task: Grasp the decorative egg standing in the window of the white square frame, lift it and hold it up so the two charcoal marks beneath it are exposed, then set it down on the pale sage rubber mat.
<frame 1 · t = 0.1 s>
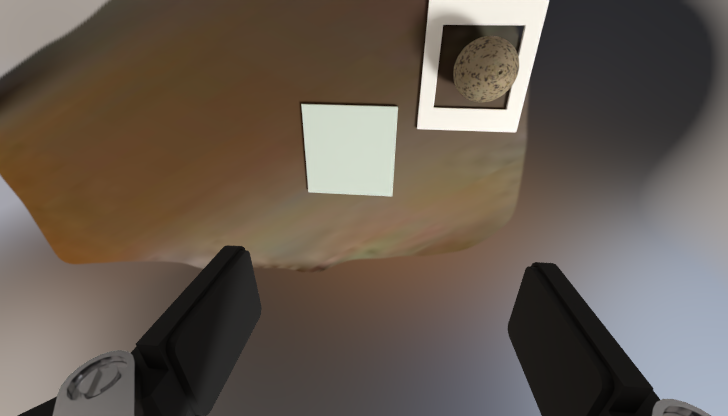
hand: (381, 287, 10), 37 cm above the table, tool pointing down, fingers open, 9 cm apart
white square frame: (475, 69, 39), on the table
sage mat: (350, 151, 46), on the table
decorative egg: (475, 69, 39), resting in white square frame
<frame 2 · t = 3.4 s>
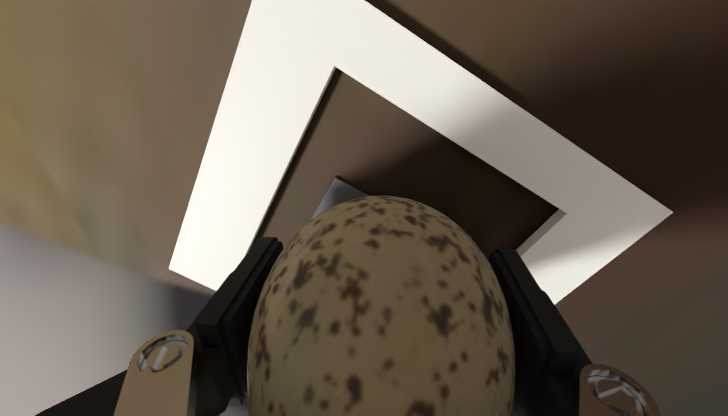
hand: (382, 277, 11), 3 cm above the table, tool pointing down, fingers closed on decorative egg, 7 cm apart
white square frame: (384, 238, 13), on the table
decorative egg: (384, 236, 13), resting in white square frame, touching gripper
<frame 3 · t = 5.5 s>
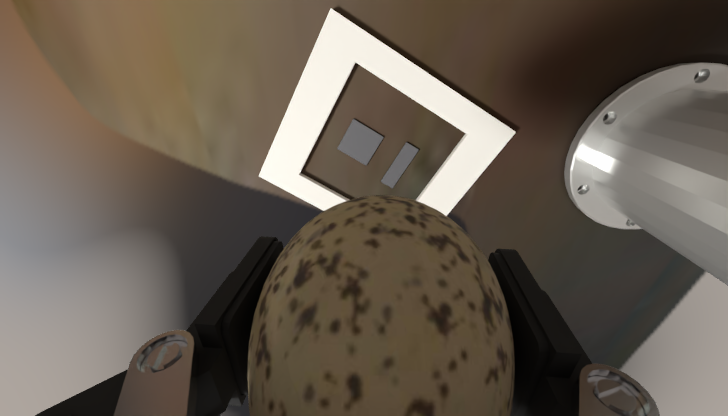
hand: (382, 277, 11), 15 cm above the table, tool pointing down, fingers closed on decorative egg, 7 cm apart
white square frame: (378, 153, 24), on the table
decorative egg: (384, 236, 13), point 13 cm above the table, touching gripper
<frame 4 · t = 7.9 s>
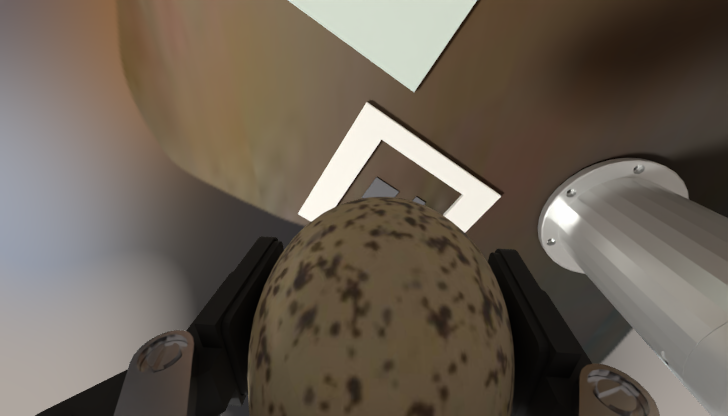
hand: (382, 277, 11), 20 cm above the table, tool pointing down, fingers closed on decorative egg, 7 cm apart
white square frame: (394, 203, 31), on the table
decorative egg: (384, 237, 13), point 17 cm above the table, touching gripper
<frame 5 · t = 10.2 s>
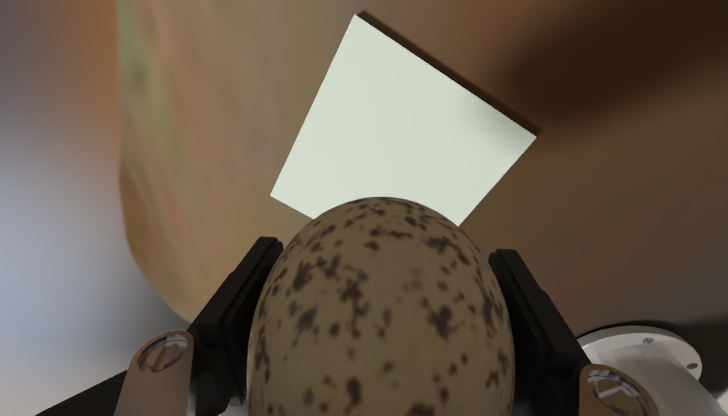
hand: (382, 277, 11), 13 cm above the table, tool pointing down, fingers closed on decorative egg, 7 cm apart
sage mat: (391, 166, 22), on the table
decorative egg: (384, 237, 13), point 10 cm above the table, touching gripper
when the fingers open (4 cm above the table, at t = 12.3 s): decorative egg drops 1 cm, resting on sage mat.
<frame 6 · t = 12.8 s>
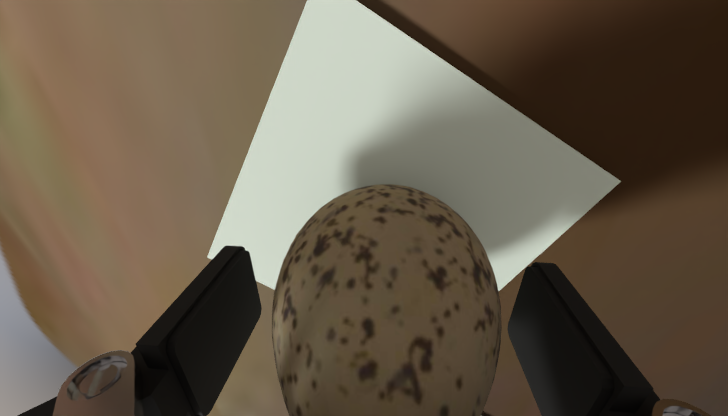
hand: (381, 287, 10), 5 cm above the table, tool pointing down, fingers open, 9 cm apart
sage mat: (385, 218, 14), on the table
decorative egg: (387, 225, 14), resting on sage mat
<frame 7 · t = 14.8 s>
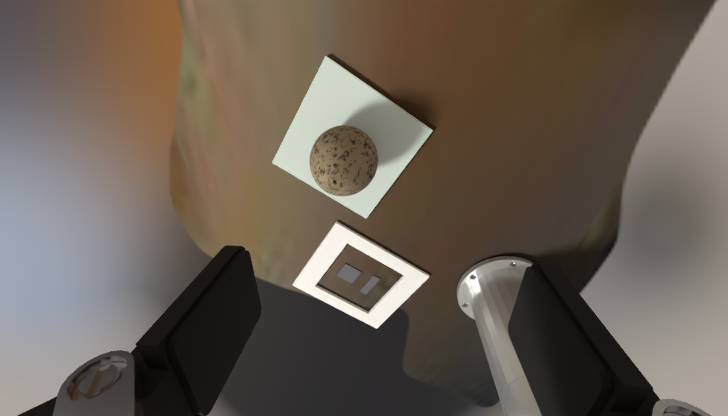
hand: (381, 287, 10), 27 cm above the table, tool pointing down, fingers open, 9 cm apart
white square frame: (358, 278, 45), on the table
sage mat: (349, 146, 35), on the table
decorative egg: (349, 148, 35), resting on sage mat
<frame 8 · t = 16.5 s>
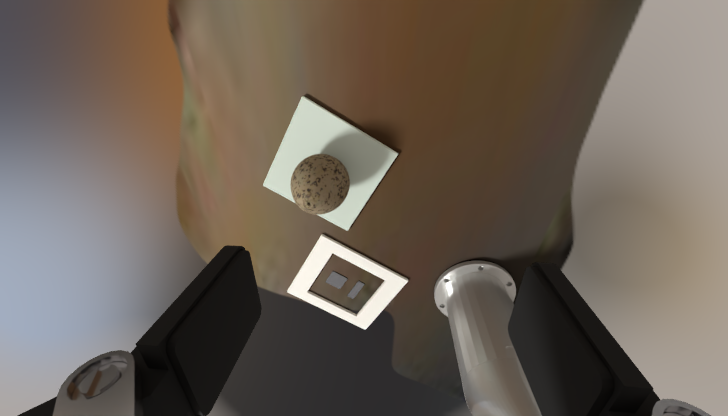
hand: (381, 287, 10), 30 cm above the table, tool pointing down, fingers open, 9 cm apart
white square frame: (345, 284, 50), on the table
sage mat: (328, 169, 41), on the table
decorative egg: (328, 171, 40), resting on sage mat
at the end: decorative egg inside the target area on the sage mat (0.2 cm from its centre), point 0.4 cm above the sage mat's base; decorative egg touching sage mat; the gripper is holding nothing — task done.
